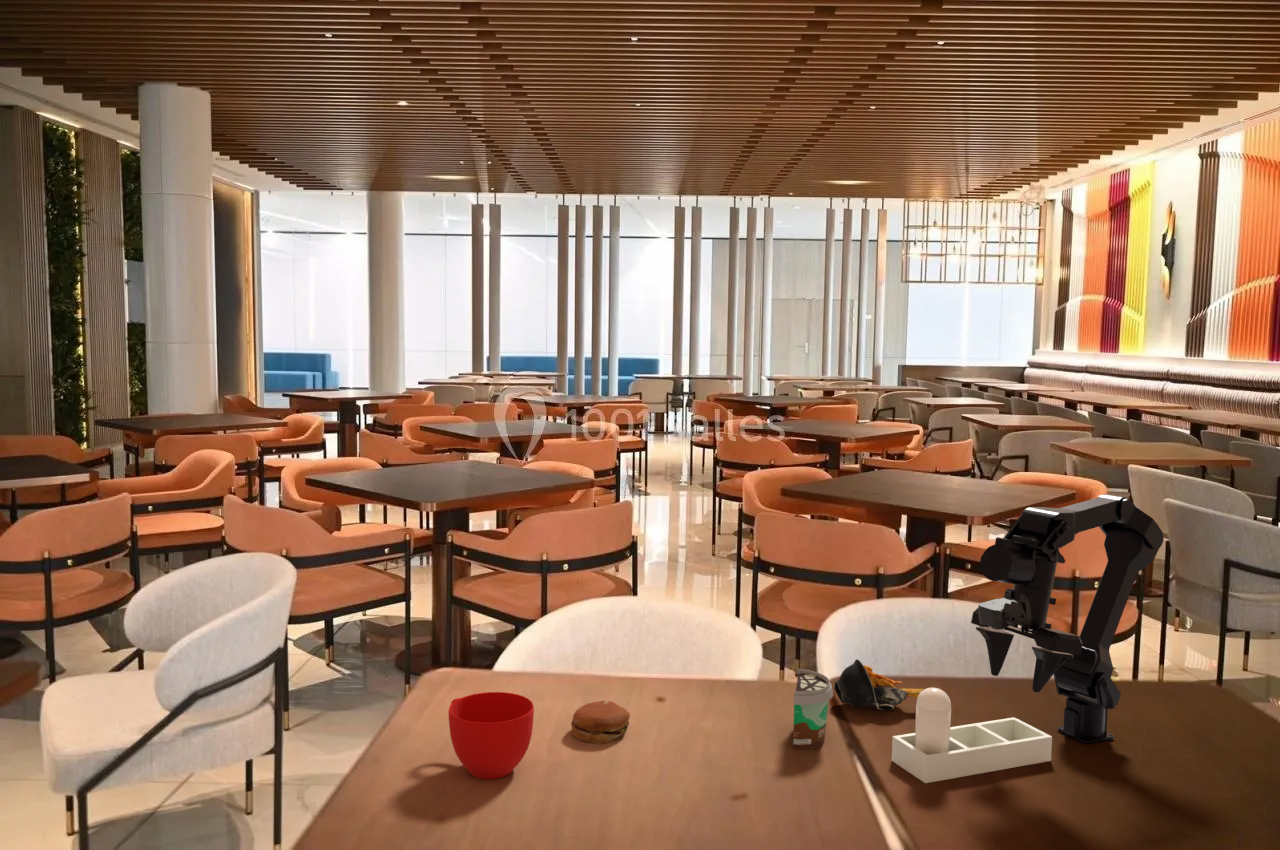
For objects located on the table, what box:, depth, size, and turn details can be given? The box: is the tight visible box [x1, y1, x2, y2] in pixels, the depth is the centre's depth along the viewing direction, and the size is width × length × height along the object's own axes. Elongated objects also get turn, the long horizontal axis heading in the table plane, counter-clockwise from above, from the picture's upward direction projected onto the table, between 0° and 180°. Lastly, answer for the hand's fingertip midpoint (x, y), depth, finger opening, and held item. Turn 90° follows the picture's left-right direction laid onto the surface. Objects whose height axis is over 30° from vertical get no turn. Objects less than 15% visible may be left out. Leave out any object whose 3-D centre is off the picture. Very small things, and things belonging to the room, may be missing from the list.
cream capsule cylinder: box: [914, 687, 952, 755], centre depth 157 cm, size 5×5×12 cm
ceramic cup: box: [448, 691, 535, 780], centre depth 156 cm, size 13×17×10 cm
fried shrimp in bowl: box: [834, 659, 926, 711], centre depth 184 cm, size 9×11×18 cm
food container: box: [792, 668, 834, 750], centre depth 168 cm, size 12×6×10 cm, turn 168°
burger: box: [570, 700, 631, 744], centre depth 170 cm, size 10×9×5 cm
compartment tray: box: [891, 717, 1053, 784], centre depth 161 cm, size 24×9×4 cm, turn 111°
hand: (1014, 683), depth 160 cm, fingers open, 9 cm apart
